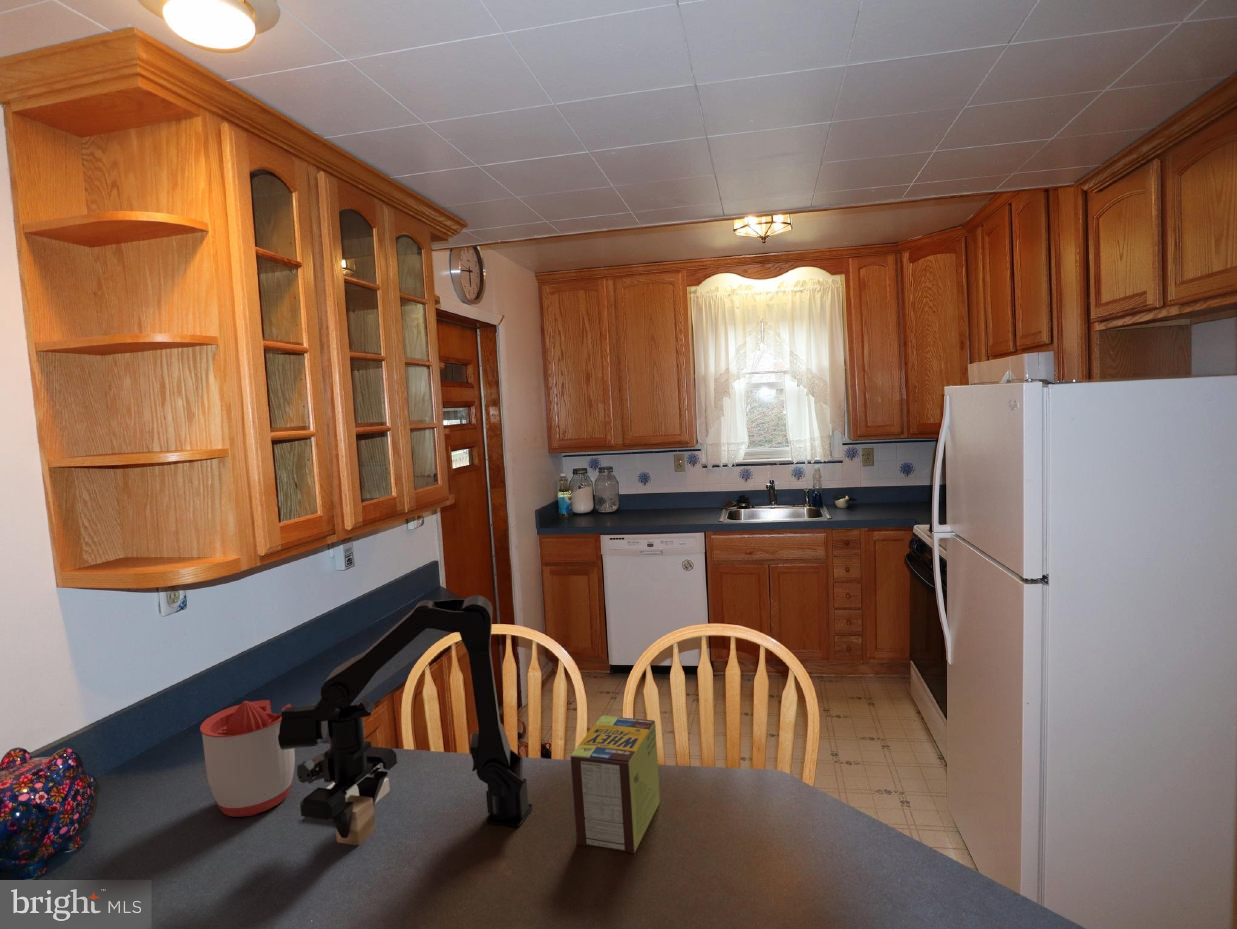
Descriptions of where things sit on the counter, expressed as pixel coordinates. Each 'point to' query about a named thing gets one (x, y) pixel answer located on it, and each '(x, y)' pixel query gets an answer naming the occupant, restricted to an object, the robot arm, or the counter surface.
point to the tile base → (382, 792)
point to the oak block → (359, 820)
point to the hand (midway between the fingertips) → (355, 827)
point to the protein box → (615, 783)
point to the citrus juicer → (246, 759)
